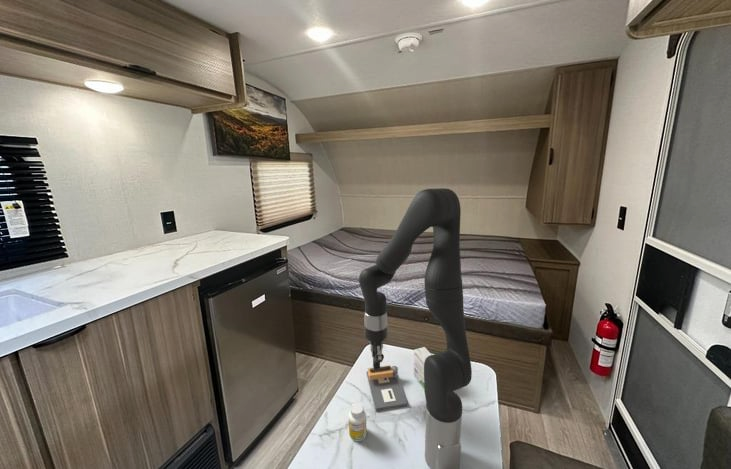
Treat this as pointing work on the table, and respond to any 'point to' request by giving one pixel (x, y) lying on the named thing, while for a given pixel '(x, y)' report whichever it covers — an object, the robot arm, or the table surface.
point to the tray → (387, 393)
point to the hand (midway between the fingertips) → (376, 368)
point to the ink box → (420, 363)
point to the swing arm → (382, 372)
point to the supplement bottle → (357, 422)
